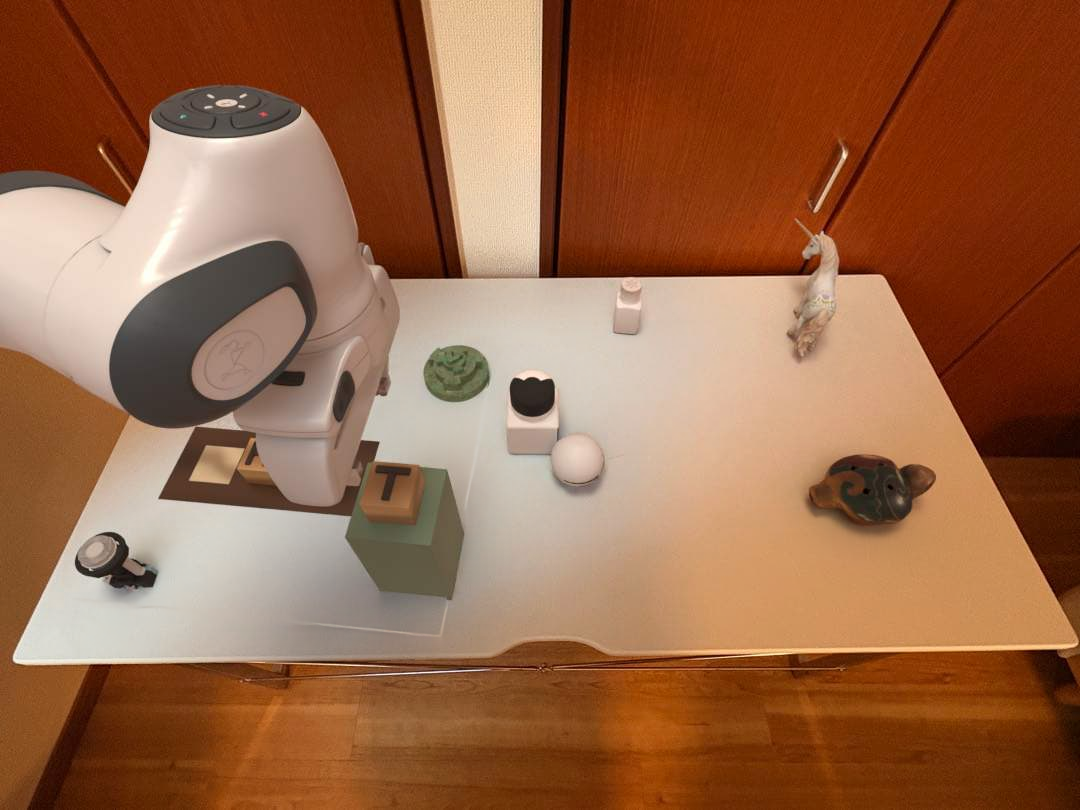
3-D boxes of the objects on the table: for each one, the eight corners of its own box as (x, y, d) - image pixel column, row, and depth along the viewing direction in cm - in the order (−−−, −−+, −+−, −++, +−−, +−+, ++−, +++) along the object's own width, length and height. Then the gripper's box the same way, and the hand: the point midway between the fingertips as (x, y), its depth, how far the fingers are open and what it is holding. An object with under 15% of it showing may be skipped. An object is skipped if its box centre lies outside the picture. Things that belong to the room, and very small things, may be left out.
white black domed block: (558, 455, 88) (559, 406, 79) (508, 454, 88) (503, 406, 79) (557, 414, 93) (559, 363, 83) (510, 414, 93) (506, 363, 83)
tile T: (415, 525, 64) (407, 506, 60) (368, 521, 64) (358, 502, 61) (425, 483, 67) (418, 463, 63) (380, 479, 67) (371, 459, 64)
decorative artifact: (497, 395, 95) (480, 349, 100) (493, 366, 89) (476, 319, 95) (433, 412, 93) (420, 364, 99) (426, 384, 87) (412, 335, 93)
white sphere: (548, 494, 85) (548, 467, 79) (552, 449, 89) (552, 420, 83) (620, 500, 84) (626, 473, 78) (621, 454, 88) (626, 425, 82)
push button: (101, 602, 76) (49, 573, 68) (117, 561, 80) (69, 529, 72) (155, 601, 77) (109, 571, 68) (169, 560, 80) (126, 527, 72)
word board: (358, 520, 83) (356, 516, 82) (161, 502, 85) (157, 498, 84) (381, 445, 90) (379, 441, 89) (198, 430, 92) (195, 425, 91)
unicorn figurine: (811, 281, 109) (840, 218, 98) (837, 366, 97) (873, 305, 87) (770, 280, 109) (794, 218, 98) (791, 364, 98) (822, 304, 87)
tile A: (283, 486, 85) (271, 470, 81) (248, 483, 85) (235, 467, 82) (295, 455, 88) (284, 439, 84) (261, 452, 88) (249, 436, 85)
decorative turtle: (929, 524, 81) (960, 500, 75) (819, 546, 81) (839, 523, 74) (894, 460, 87) (920, 432, 80) (790, 480, 86) (807, 453, 79)
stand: (451, 600, 76) (430, 545, 62) (381, 593, 77) (344, 537, 63) (464, 533, 81) (447, 468, 68) (398, 527, 82) (367, 462, 68)
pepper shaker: (614, 316, 104) (619, 274, 97) (637, 318, 104) (645, 276, 96) (612, 333, 102) (617, 291, 94) (636, 336, 102) (644, 294, 94)
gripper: (322, 227, 50) (364, 342, 61) (220, 439, 38) (295, 533, 49) (399, 232, 49) (426, 346, 60) (320, 447, 37) (372, 540, 48)
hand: (367, 431), depth 55 cm, fingers open, 8 cm apart
